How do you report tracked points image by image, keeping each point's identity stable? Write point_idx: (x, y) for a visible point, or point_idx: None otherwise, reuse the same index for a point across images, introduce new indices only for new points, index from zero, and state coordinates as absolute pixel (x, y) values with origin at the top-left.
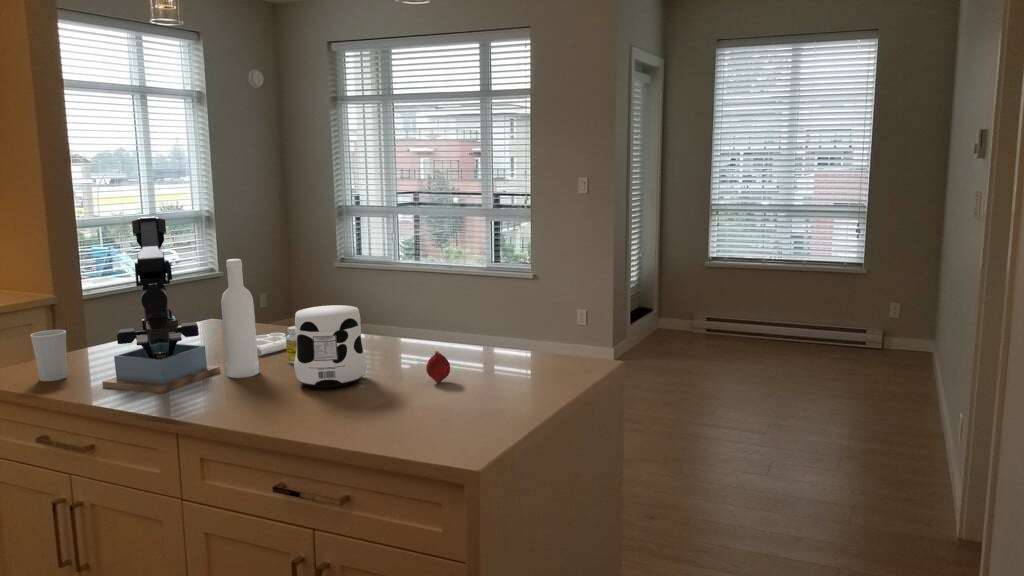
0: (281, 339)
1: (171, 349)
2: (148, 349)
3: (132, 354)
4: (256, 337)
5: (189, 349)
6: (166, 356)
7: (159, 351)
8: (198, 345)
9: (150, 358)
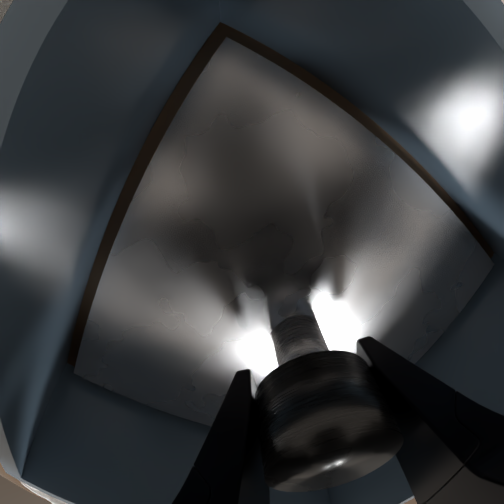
0: (44, 493)
1: (202, 502)
2: (487, 443)
3: (500, 409)
4: None
5: (130, 496)
6: (266, 429)
7: (346, 480)
8: (59, 499)
9: (492, 32)
